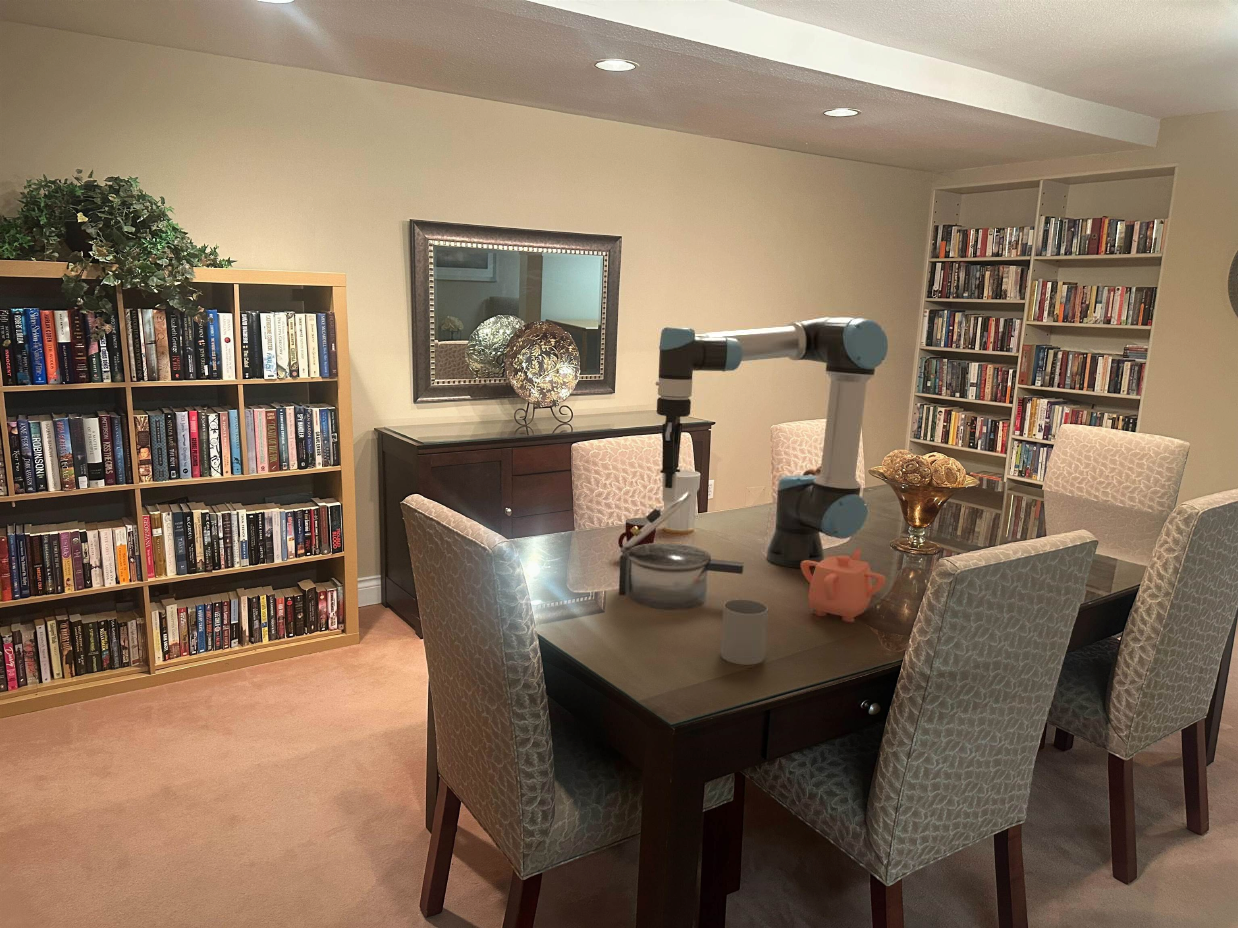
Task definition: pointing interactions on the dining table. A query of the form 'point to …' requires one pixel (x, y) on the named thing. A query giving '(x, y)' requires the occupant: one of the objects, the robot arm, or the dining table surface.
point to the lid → (654, 521)
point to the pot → (669, 574)
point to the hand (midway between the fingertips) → (668, 500)
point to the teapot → (841, 585)
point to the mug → (628, 534)
